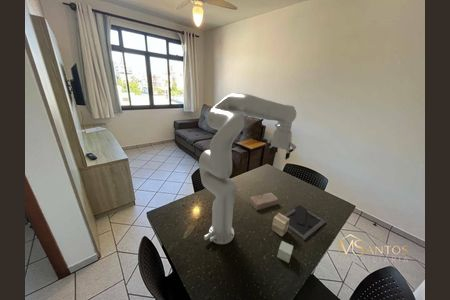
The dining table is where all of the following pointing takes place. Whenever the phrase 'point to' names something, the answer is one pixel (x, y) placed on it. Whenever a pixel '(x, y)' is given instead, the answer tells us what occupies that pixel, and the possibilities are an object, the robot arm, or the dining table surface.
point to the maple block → (280, 224)
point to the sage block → (285, 251)
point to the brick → (263, 201)
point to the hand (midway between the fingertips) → (278, 156)
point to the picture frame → (303, 222)
